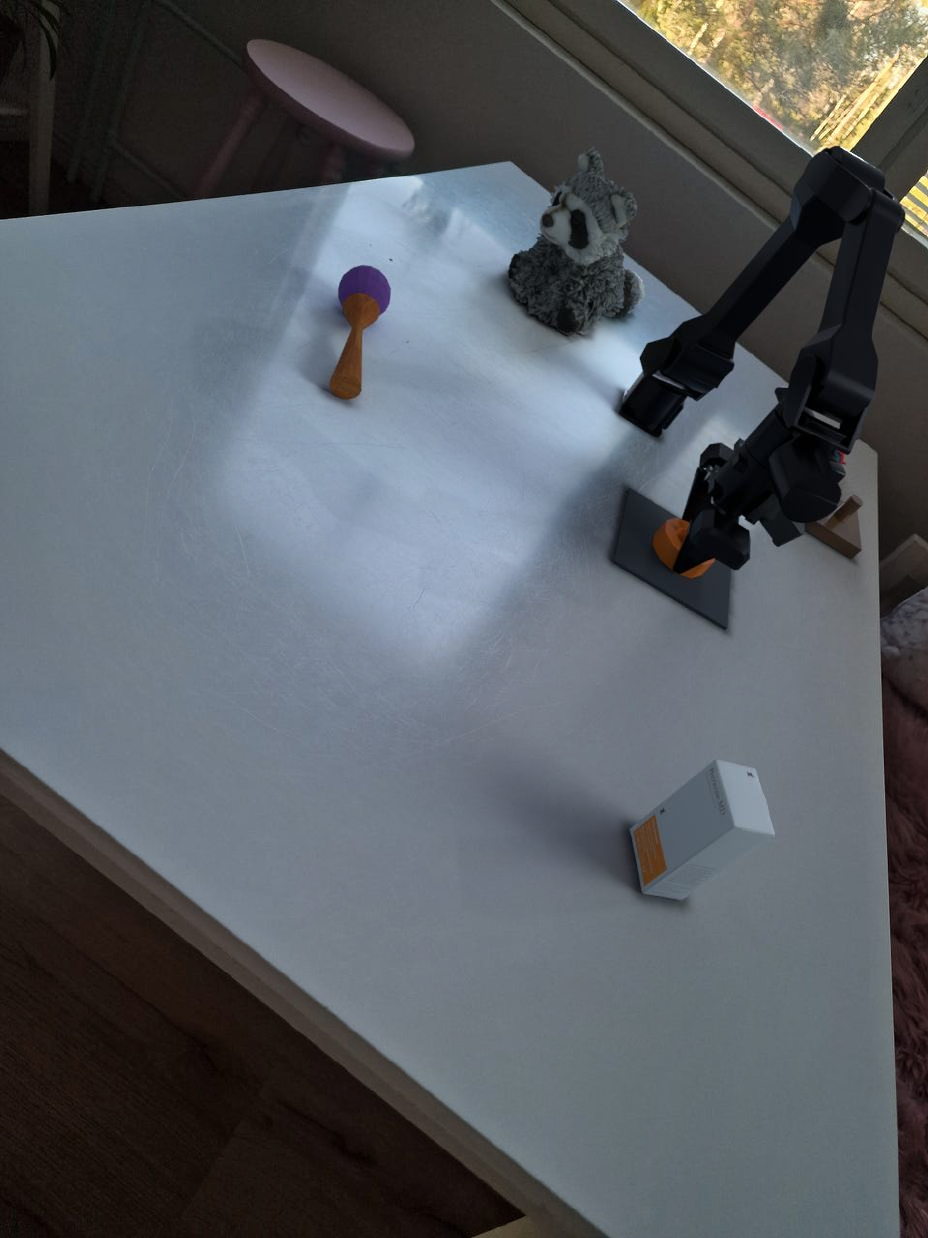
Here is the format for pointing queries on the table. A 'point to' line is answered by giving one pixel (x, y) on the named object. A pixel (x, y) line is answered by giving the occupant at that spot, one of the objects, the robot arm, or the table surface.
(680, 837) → the cosmetic box
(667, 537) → the disc
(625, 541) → the mat
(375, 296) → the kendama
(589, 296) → the raccoon plush
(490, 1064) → the table surface
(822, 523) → the rack
